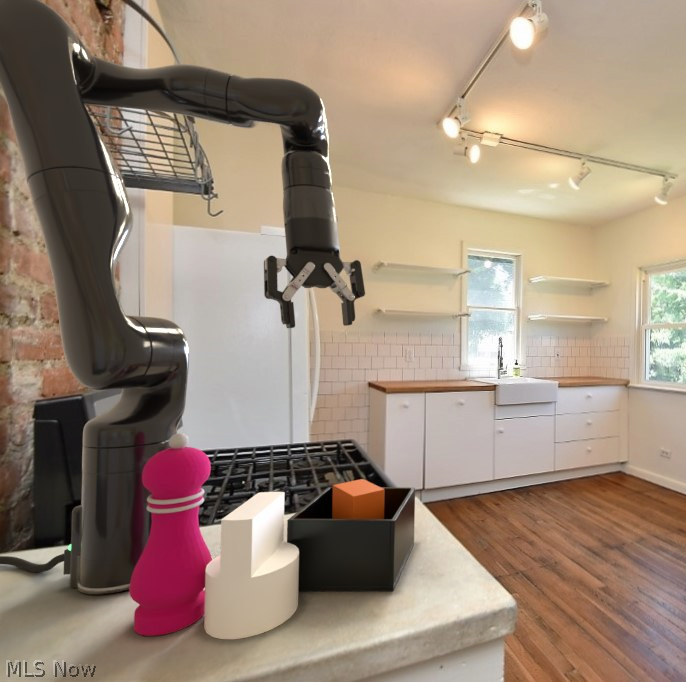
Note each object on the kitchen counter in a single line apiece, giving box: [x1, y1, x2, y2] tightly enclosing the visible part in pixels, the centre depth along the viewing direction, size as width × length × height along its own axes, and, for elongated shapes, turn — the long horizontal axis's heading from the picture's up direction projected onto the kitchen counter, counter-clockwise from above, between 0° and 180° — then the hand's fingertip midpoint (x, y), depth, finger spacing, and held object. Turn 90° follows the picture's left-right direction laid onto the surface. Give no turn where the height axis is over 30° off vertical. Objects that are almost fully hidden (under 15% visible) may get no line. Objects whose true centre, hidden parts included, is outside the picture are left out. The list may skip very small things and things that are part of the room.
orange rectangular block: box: [332, 478, 385, 519], centre depth 61 cm, size 4×6×10 cm
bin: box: [286, 486, 416, 592], centre depth 61 cm, size 13×13×9 cm
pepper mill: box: [128, 432, 213, 637], centre depth 49 cm, size 7×7×20 cm
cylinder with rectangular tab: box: [203, 491, 299, 640], centre depth 50 cm, size 9×9×12 cm
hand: (320, 326), depth 69 cm, fingers open, 8 cm apart
